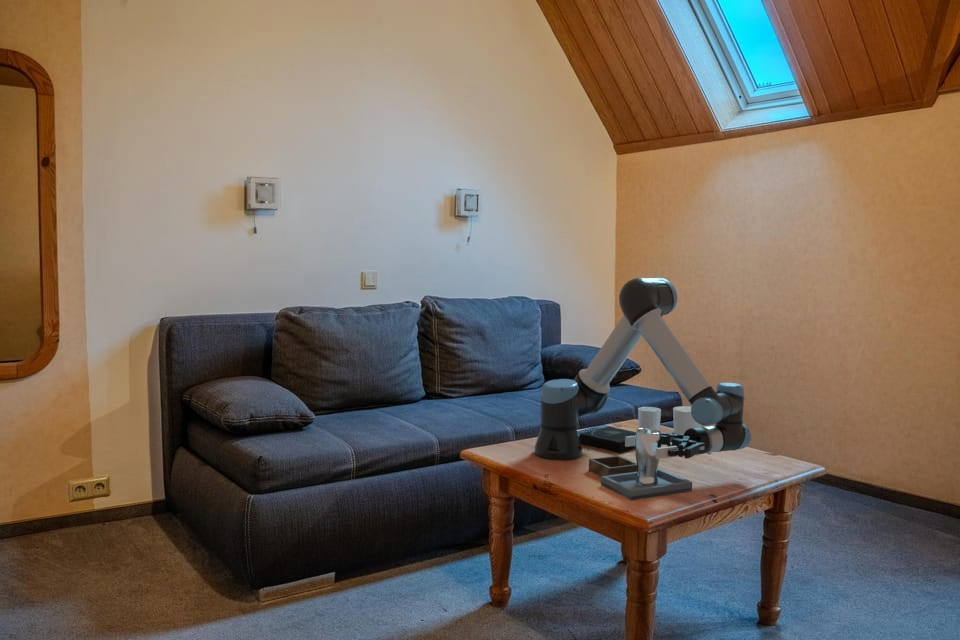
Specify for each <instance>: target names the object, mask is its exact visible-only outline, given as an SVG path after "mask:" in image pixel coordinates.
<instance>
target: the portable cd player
mask: <svg viewBox="0 0 960 640" xmlns="http://www.w3.org/2000/svg"><path fill="white" fill-rule="evenodd" d="M578 436H579V440H580V443H581V446H582V445H583V446H587V447H591V448H596V449H600V450H603V451H608V452H613V453H615V454H623V453H625V452H629V451H633V450H635V446H629V447H626V446H625V437H627V436H636V431H632V430H628V429H624V428H623V429H622V428H618V427H613V426H605V427H602V428H597V429H596V428H595V429H593V430H590V431H589V430H588V431H584V432H581V433H579V434H578Z"/></svg>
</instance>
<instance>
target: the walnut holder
mask: <svg viewBox="0 0 960 640" xmlns="http://www.w3.org/2000/svg"><path fill="white" fill-rule="evenodd" d="M588 471H589V472H591V473H592V474H595V475H597V476H599V477H601V476H608V475H615V474H623V473H630V472H637V462H636V461H633V460H630V459H628V458H626V457H624V456H621V455H612V456H606V457H605V456H604V457H594V458H589V459H588Z"/></svg>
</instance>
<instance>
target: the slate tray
mask: <svg viewBox="0 0 960 640" xmlns="http://www.w3.org/2000/svg"><path fill="white" fill-rule="evenodd" d="M600 477H601V479H600V480H601V481H600V485H601V487H603V488H606V489H607V490H610V491H611V492H614V493H616V494H618V495H619V496H622V497H624V498H626V499H627V500H630V501H635V500H644V499H649V498H655V497H656V498H657V497H662V496H671V495H675V494H676V495H677V494H682V493H690V492H693V481H690V480H688V479H685V478H683V477H681V476H679V475H676V474H673V473H671V472H668V471H665V470H664V469H662V468H658V469H657V479H658V486H651V487H639V486H637V485H636V478H637V472H630V473H623V474H615V475H608V476H600Z"/></svg>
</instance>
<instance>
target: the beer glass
mask: <svg viewBox="0 0 960 640" xmlns="http://www.w3.org/2000/svg"><path fill="white" fill-rule="evenodd" d="M635 432H636V439H635V449H634V452H635V463H637V478H636V485H637V486H639V487H651V486H658V479H657V469H659V463H660V459H656V448H662V445H661V433H662V432H661V430H660V429H659V430H656V429H650V428H641V429H639V428H637V429H635Z"/></svg>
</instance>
